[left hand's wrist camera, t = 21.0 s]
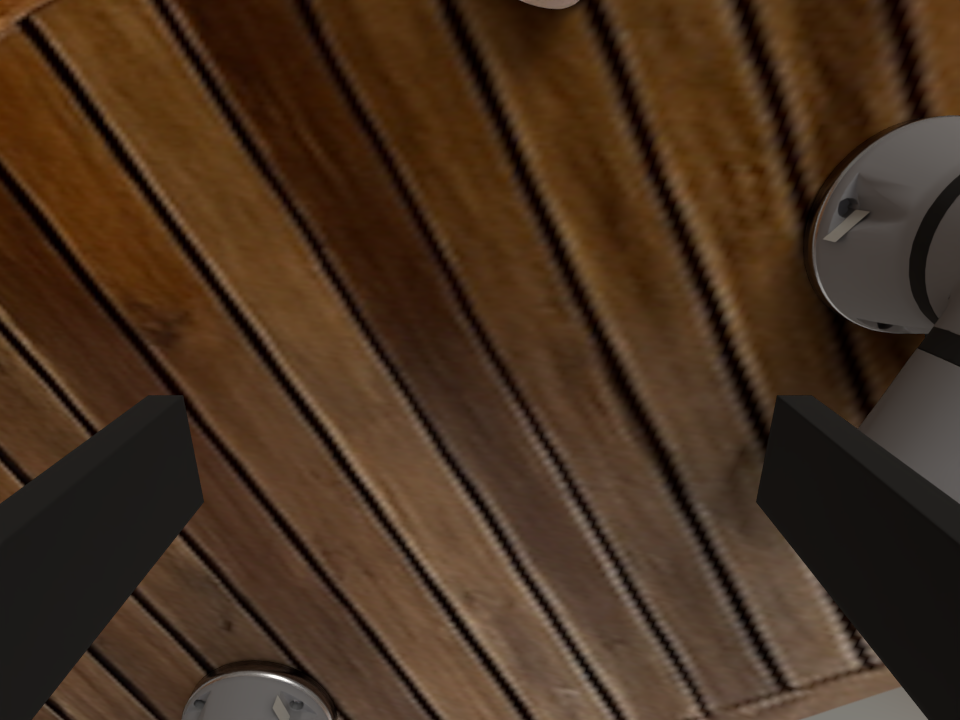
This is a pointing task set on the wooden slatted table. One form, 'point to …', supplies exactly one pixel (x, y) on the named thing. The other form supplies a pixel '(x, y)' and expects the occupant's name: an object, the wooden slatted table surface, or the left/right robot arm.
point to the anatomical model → (551, 3)
